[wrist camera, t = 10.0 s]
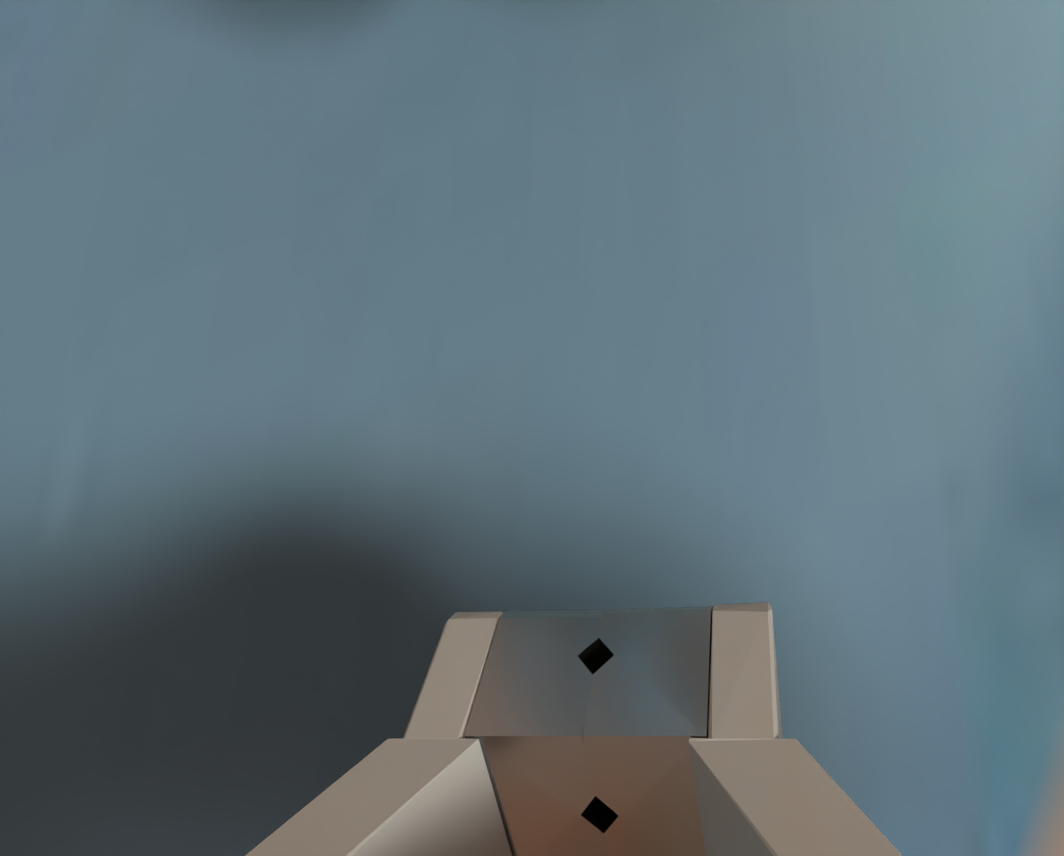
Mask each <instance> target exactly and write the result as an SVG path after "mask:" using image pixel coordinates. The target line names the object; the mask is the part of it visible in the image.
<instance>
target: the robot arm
mask: <svg viewBox="0 0 1064 856" xmlns="http://www.w3.org/2000/svg"><path fill="white" fill-rule="evenodd" d="M245 856H902V855H901V854H900V853H899V852H898V850H897V849H896V848H895V847H894V846H893V845H892V844H891V843H890V842H889V841H888V839H887V838H886V837H885V836H884V835H883V834H882V833H881V832H880V831H879V830H878V828H877V827H876V826H875V825H874V824H873V823H872V822H871V821H870V820H869V819H868V818H867V816H866V815H865V814H864V813H863V812H862V811H861V810H860V809H859V808H858V807H857V805H856V804H855V803H854V802H853V801H852V800H851V799H850V798H849V797H848V796H847V794H846V793H845V792H844V791H843V790H842V789H841V788H840V787H839V786H838V785H837V783H836V782H835V781H834V780H833V779H832V778H831V777H830V776H829V775H828V774H827V772H826V771H825V770H824V769H823V768H822V767H821V766H820V765H819V764H818V763H817V761H816V760H815V759H814V758H813V757H812V756H811V755H810V754H809V753H808V752H807V750H806V749H805V748H804V747H803V746H802V745H801V744H800V743H799V742H798V741H797V739H783V732H782V720H781V709H780V697H779V686H778V674H777V663H776V651H775V639H774V628H773V616H772V608H771V606H770V604H769V603H768V602H760V603H741V604H723V605H714V606H709V607H682V608H655V609H628V610H608V611H607V610H539V611H506V612H456V613H455V614H454V615H453V616H452V617H450V618H449V619H448V621H447V622H446V624H445V626H444V629H443V632H442V634H441V637H440V640H439V642H438V645H437V648H436V651H435V653H434V656H433V659H432V661H431V664H430V667H429V669H428V672H427V675H426V677H425V680H424V683H423V685H422V688H421V691H420V694H419V696H418V699H417V702H416V704H415V707H414V710H413V712H412V715H411V718H410V720H409V723H408V726H407V729H406V731H405V734H404V737H403V739H387V740H386V741H384V742H383V743H382V744H381V745H380V746H378V747H377V748H376V749H375V750H373V751H372V752H371V753H370V754H369V755H367V756H366V757H365V758H364V759H362V760H361V761H360V762H359V763H358V764H356V765H355V766H354V767H353V768H351V769H350V770H349V771H348V772H347V773H345V774H344V775H343V776H342V777H340V778H339V779H338V780H337V781H336V782H334V783H333V784H332V785H331V786H329V787H328V788H327V789H326V790H325V791H323V792H322V793H321V794H320V795H318V796H317V797H316V798H315V799H314V800H312V801H311V802H310V803H309V804H307V805H306V806H305V807H304V808H303V809H301V810H300V811H299V812H298V813H296V814H295V815H294V816H293V817H292V818H290V819H289V820H288V821H287V822H285V823H284V824H283V825H282V826H281V827H279V828H278V829H277V830H276V831H274V832H273V833H272V834H271V835H270V836H268V837H267V838H266V839H265V840H263V841H262V842H261V843H260V844H259V845H257V846H256V847H255V848H254V849H252V850H251V851H250V852H249V853H248V854H246V855H245Z"/></svg>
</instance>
